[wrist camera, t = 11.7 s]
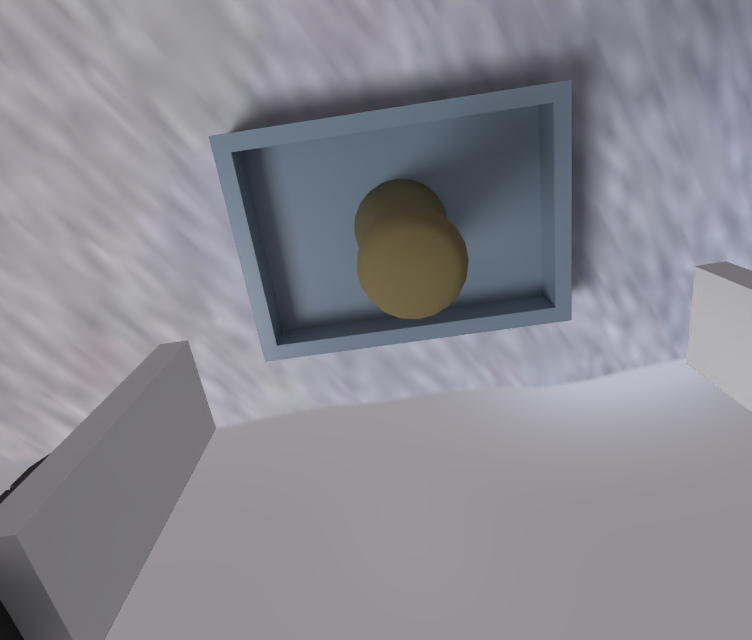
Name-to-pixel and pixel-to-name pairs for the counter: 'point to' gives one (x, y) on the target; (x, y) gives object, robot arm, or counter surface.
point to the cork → (408, 250)
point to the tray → (426, 166)
